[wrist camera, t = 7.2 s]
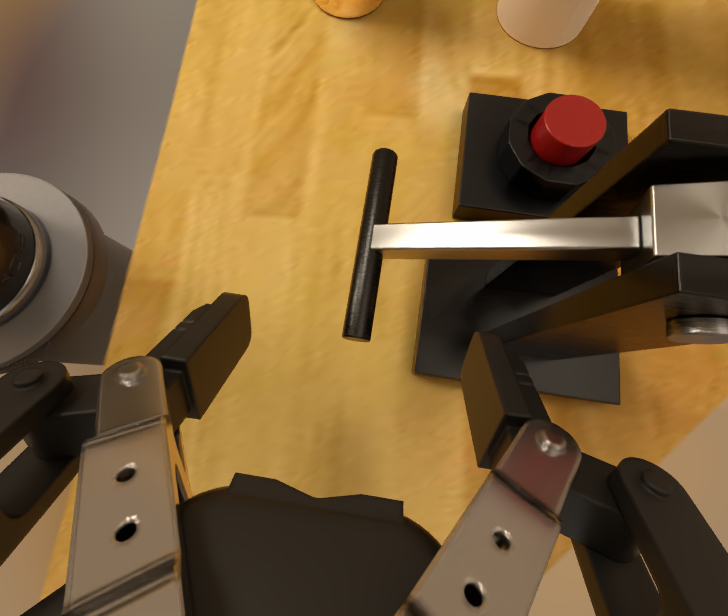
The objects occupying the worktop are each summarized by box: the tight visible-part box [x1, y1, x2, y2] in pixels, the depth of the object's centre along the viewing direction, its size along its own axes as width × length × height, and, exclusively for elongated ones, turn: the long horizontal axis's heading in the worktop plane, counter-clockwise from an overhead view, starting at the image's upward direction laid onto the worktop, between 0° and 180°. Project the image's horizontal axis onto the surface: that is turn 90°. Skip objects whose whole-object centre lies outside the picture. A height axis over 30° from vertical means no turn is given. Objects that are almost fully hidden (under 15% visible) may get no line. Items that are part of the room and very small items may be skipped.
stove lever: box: [342, 148, 728, 342], centre depth 11 cm, size 12×8×2 cm
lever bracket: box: [412, 109, 728, 405], centre depth 14 cm, size 12×9×14 cm
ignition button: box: [530, 95, 607, 166], centre depth 20 cm, size 4×4×2 cm
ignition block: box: [452, 92, 628, 221], centre depth 22 cm, size 11×9×4 cm
